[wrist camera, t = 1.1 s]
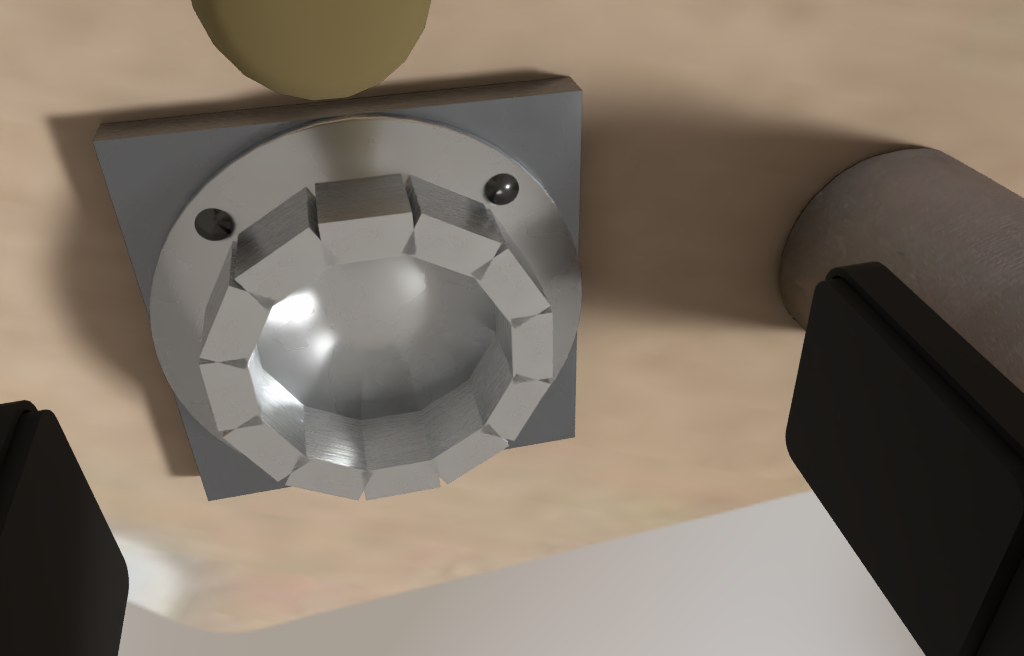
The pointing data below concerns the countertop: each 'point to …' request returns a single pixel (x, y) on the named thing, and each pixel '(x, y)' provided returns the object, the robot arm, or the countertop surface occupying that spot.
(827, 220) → the pillar candle
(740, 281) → the countertop surface
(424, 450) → the rosette plate
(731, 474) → the countertop surface
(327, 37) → the olive knobbed peg
